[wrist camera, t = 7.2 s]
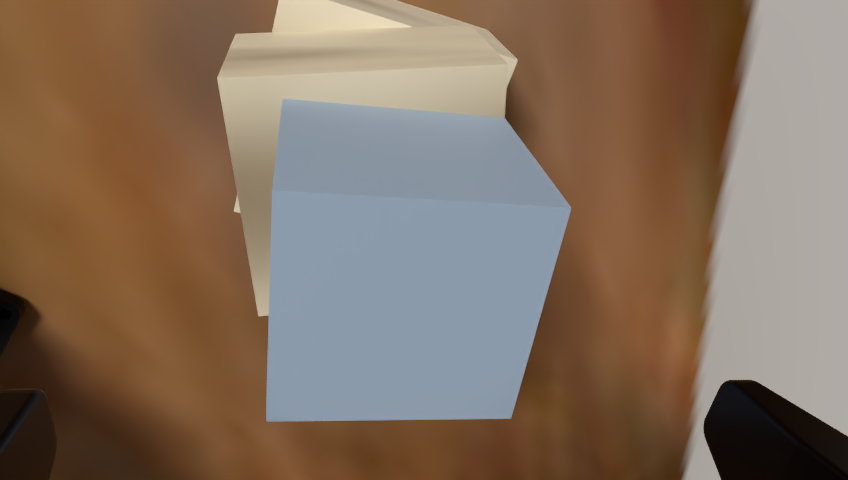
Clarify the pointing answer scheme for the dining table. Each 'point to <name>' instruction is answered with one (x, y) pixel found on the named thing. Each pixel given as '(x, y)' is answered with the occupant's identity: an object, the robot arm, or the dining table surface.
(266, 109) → the tower top
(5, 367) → the dining table surface
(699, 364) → the dining table surface
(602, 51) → the dining table surface
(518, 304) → the blue block
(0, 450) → the robot arm
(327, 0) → the tower base
